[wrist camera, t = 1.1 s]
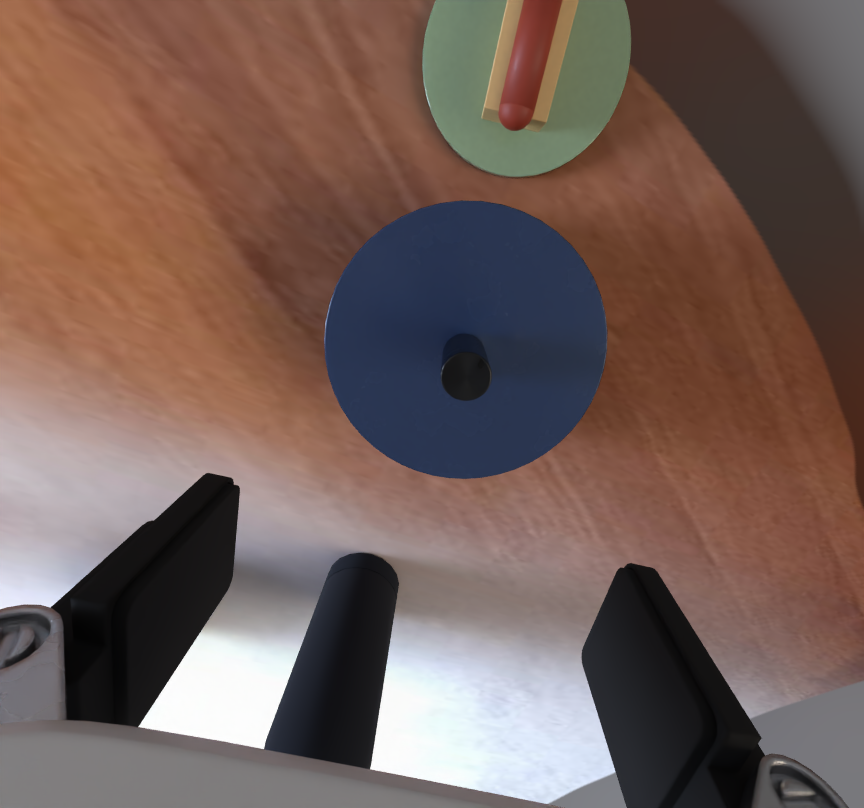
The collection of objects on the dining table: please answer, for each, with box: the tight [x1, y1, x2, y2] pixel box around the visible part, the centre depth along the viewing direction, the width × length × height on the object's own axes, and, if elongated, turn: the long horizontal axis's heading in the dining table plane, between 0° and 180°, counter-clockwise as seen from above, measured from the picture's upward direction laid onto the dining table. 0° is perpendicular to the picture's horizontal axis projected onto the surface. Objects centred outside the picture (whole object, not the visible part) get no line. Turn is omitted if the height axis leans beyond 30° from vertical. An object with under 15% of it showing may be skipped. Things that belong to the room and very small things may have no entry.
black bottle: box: [264, 553, 399, 769], centre depth 26 cm, size 6×6×30 cm
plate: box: [423, 0, 631, 178], centre depth 26 cm, size 12×12×1 cm
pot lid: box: [324, 201, 607, 479], centre depth 23 cm, size 16×16×6 cm
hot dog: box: [482, 0, 579, 132], centre depth 24 cm, size 8×4×3 cm, turn 168°
